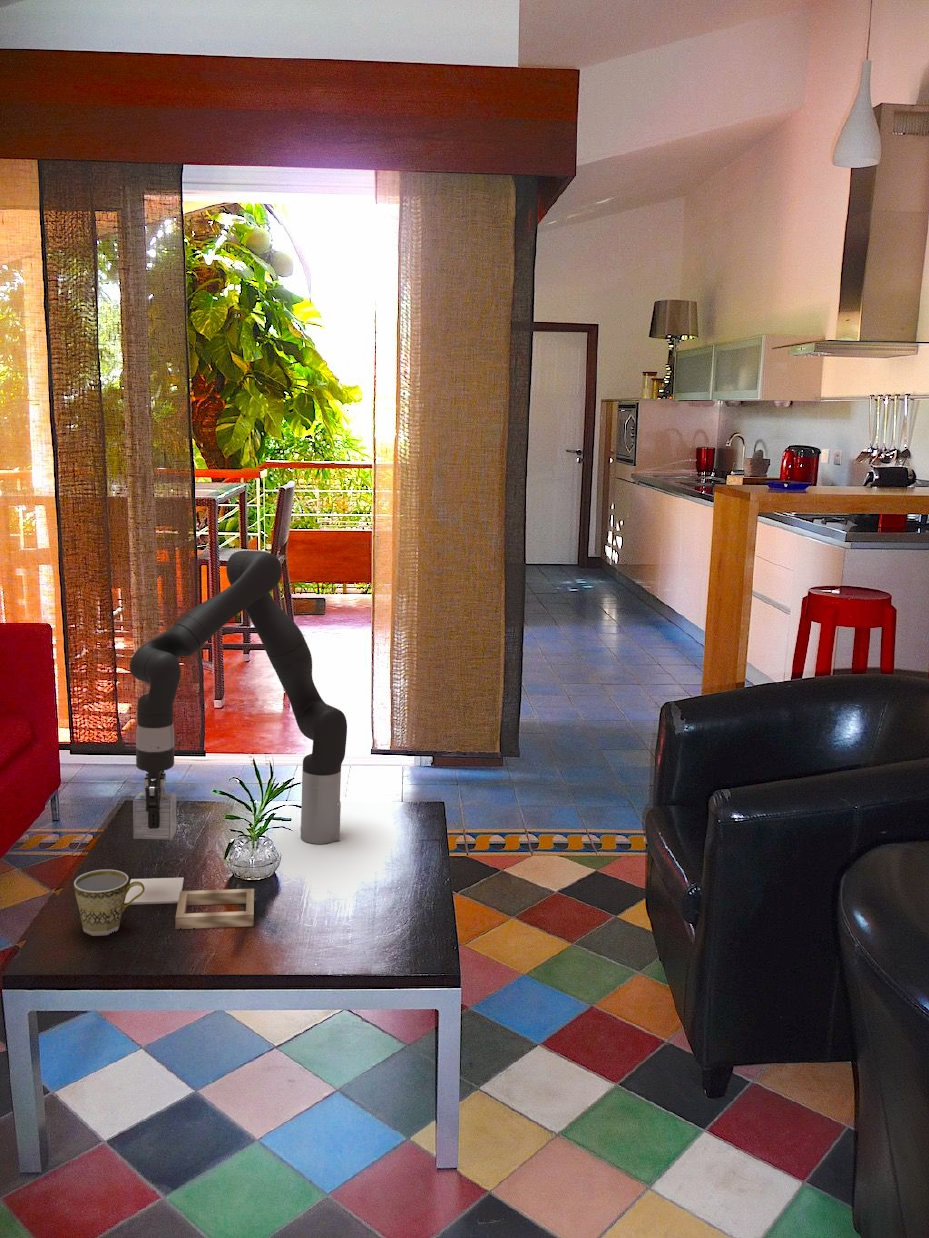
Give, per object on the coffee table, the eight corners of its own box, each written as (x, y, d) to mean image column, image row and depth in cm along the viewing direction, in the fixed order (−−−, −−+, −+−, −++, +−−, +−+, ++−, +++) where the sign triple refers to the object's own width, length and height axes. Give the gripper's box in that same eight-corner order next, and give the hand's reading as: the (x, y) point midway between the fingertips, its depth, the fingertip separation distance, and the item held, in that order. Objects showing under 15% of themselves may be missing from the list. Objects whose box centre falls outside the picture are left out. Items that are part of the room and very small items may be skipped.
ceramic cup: (70, 941, 192) (69, 892, 190) (79, 916, 202) (78, 869, 200) (141, 938, 195) (141, 890, 193) (147, 914, 204) (147, 867, 203)
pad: (183, 879, 220) (183, 877, 220) (179, 902, 210) (179, 900, 210) (130, 881, 218) (130, 879, 218) (124, 904, 208) (124, 902, 208)
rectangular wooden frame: (253, 899, 213) (254, 888, 213) (253, 926, 202) (253, 914, 202) (179, 902, 210) (180, 891, 210) (175, 929, 199) (175, 917, 199)
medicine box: (176, 832, 214) (177, 793, 213) (171, 840, 210) (171, 800, 208) (139, 830, 214) (138, 791, 212) (133, 839, 209) (132, 799, 208)
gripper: (171, 755, 202) (171, 836, 205) (177, 734, 216) (176, 809, 219) (131, 756, 201) (132, 837, 204) (140, 734, 214) (140, 810, 217)
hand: (155, 822), depth 211 cm, fingers closed on medicine box, 5 cm apart
